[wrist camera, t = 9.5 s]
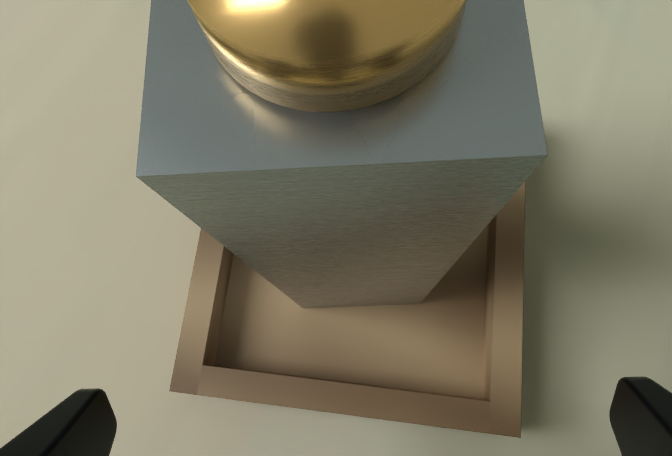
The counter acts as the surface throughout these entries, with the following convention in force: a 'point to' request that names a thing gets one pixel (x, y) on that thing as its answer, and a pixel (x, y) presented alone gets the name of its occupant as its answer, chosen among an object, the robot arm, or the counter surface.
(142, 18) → the counter surface
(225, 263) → the tray
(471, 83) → the grey tall block
